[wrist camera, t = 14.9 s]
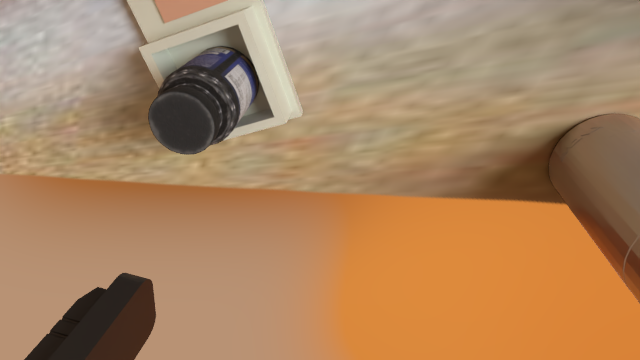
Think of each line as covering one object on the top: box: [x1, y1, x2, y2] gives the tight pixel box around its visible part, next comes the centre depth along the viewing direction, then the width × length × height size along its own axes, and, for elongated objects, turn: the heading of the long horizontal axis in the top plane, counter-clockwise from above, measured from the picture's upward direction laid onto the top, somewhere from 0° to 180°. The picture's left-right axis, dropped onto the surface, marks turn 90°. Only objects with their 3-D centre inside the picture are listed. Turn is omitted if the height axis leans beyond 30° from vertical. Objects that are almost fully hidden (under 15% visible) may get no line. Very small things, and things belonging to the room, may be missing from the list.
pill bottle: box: [148, 46, 259, 154], centre depth 34 cm, size 6×6×11 cm
